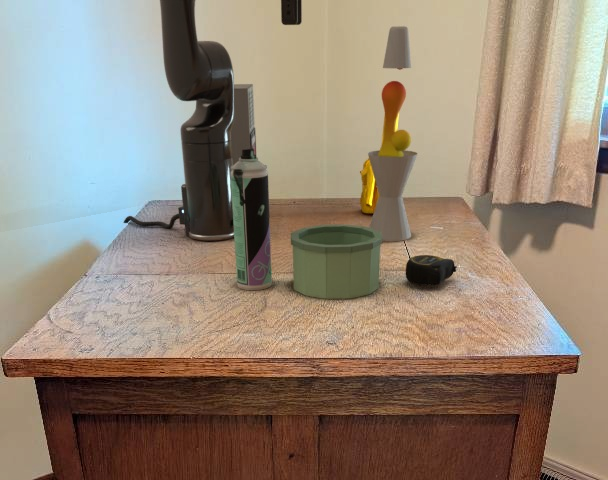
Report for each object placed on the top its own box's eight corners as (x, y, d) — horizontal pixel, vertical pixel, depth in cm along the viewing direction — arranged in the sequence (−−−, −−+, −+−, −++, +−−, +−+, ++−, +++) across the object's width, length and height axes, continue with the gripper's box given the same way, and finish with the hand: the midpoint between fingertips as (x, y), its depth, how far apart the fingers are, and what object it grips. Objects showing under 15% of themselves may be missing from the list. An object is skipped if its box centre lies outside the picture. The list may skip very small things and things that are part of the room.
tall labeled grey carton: (257, 219, 153) (251, 88, 141) (228, 219, 154) (220, 88, 141) (261, 205, 165) (256, 84, 153) (235, 205, 165) (228, 84, 153)
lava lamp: (359, 239, 137) (365, 26, 119) (373, 228, 144) (381, 26, 127) (405, 243, 134) (418, 26, 116) (417, 232, 142) (431, 26, 124)
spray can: (267, 291, 110) (261, 151, 100) (232, 289, 111) (224, 151, 101) (275, 280, 115) (271, 146, 105) (242, 278, 116) (235, 145, 106)
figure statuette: (359, 204, 166) (362, 98, 154) (393, 204, 165) (399, 97, 154) (357, 221, 150) (360, 105, 139) (395, 221, 150) (401, 105, 139)
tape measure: (437, 292, 109) (439, 268, 107) (397, 285, 112) (398, 261, 110) (455, 281, 114) (457, 257, 112) (416, 274, 117) (417, 251, 115)
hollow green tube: (275, 291, 110) (273, 240, 106) (317, 268, 121) (317, 221, 117) (356, 304, 104) (358, 251, 100) (393, 279, 115) (395, 230, 111)
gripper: (267, -109, 101) (271, 25, 110) (255, -127, 89) (260, 25, 97) (320, -110, 101) (320, 25, 109) (315, -128, 89) (315, 24, 97)
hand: (291, 24), depth 103 cm, fingers open, 8 cm apart
